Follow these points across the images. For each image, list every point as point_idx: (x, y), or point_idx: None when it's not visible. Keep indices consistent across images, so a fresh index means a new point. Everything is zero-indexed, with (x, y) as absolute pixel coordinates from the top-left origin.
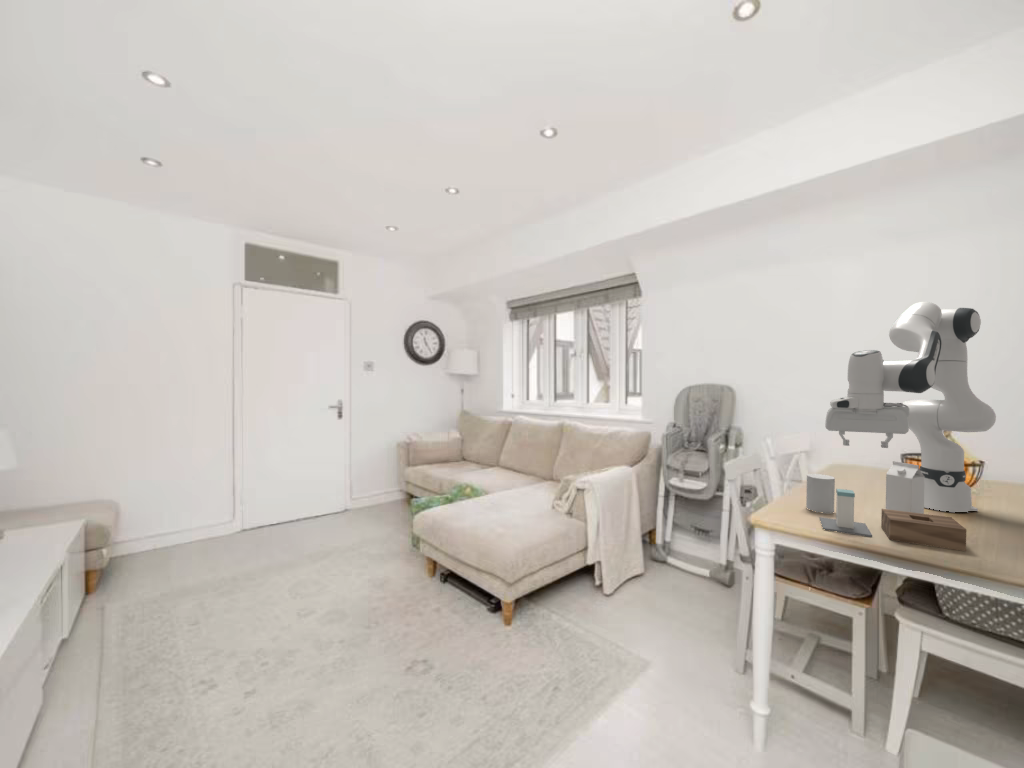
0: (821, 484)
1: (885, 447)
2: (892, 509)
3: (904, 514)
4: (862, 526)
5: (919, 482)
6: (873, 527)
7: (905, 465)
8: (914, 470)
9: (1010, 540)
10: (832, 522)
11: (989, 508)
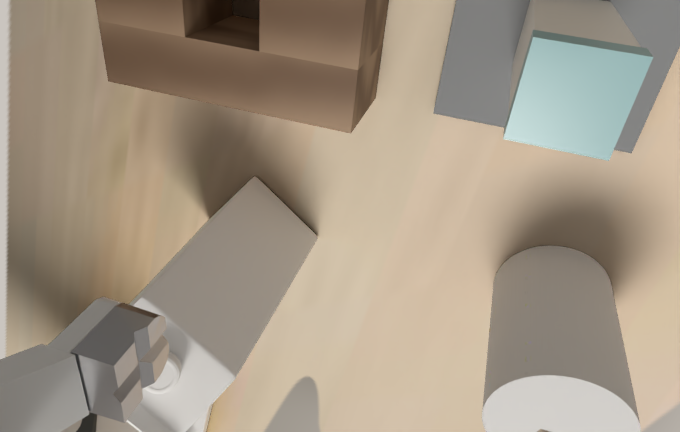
0: (580, 352)
1: (127, 304)
2: (285, 243)
3: (275, 50)
4: (467, 53)
5: None
6: (408, 88)
7: None
8: None
9: (18, 91)
10: None
11: None
